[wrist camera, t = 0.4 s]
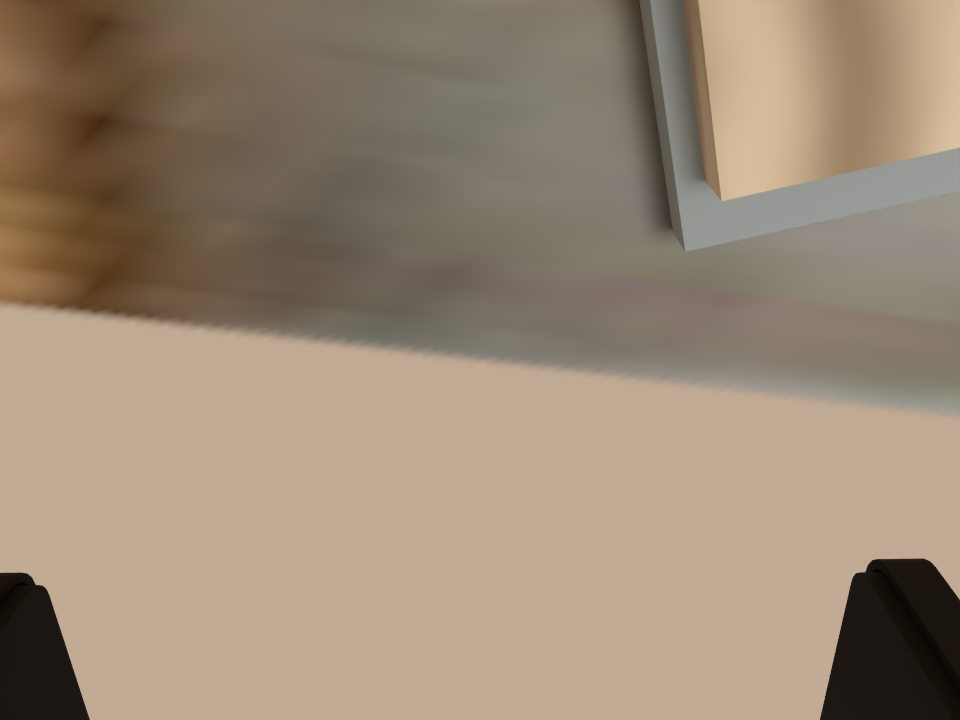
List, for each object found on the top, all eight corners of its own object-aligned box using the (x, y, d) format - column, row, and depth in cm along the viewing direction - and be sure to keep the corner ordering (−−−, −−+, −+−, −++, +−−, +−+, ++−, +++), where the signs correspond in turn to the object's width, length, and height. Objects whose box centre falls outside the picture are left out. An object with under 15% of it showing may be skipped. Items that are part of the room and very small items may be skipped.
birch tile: (1012, -121, 25) (1062, -125, 23) (1002, 112, 28) (1045, 127, 26) (678, -33, 26) (695, -29, 24) (704, 180, 29) (721, 201, 27)
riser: (1073, -235, 26) (1128, -250, 24) (1047, 145, 31) (1090, 162, 29) (623, -110, 27) (634, -113, 25) (672, 229, 33) (685, 251, 31)
